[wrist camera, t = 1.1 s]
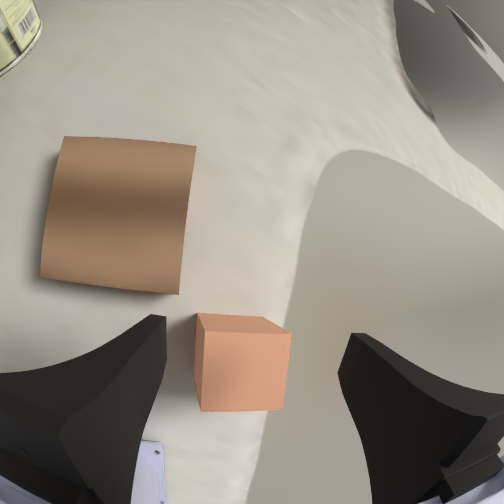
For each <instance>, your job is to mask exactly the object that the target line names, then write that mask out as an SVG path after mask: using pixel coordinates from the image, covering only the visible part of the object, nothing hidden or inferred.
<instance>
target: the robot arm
mask: <svg viewBox="0 0 504 504" xmlns="http://www.w3.org/2000/svg"><path fill="white" fill-rule="evenodd" d="M166 360H167V354H166V316H159V315H153V314H150V315H149V316H147V317H146V318H144V319H143V320H141V321H140V322H139V323H137V324H136V325H134V326H133V327H131V328H130V329H128V330H127V331H125V332H124V333H122V334H121V335H119V336H118V337H116V338H114V339H113V340H111V341H109V342H107V343H106V344H104V345H102V346H101V347H99V348H97V349H95V350H93V351H91V352H88V353H86V354H84V355H82V356H79V357H77V358H74V359H71V360H68V361H65V362H62V363H59V364H56V365H53V366H49V367H44V368H40V369H35V370H29V371H23V372H12V373H0V504H167V500H166V490H165V478H164V465H163V449H162V445H161V444H160V443H159V442H152V441H142V440H141V439H142V434H143V431H144V428H145V424H146V422H147V419H148V416H149V413H150V411H151V408H152V405H153V403H154V400H155V398H156V395H157V392H158V389H159V387H160V384H161V381H162V378H163V373H164V369H165V365H166ZM338 377H339V381H340V386H341V389H342V393H343V396H344V398H345V400H346V403H347V406H348V408H349V411H350V413H351V415H352V418H353V420H354V423H355V425H356V428H357V430H358V433H359V435H360V438H361V441H362V445H363V449H364V453H365V457H366V461H367V467H368V472H369V477H370V485H371V493H372V504H504V455H503V456H502V457H501V458H499V457H498V455H497V453H499V451H500V447H499V446H498V442H499V441H500V440H501V439H502V438H503V436H504V395H503V394H495V393H488V392H483V391H479V390H474V389H471V388H467V387H463V386H461V385H458V384H455V383H452V382H450V381H447V380H445V379H442V378H440V377H438V376H436V375H434V374H431V373H429V372H427V371H426V370H424V369H422V368H420V367H418V366H417V365H415V364H413V363H411V362H410V361H408V360H407V359H405V358H403V357H402V356H400V355H399V354H397V353H396V352H394V351H393V350H391V349H390V348H388V347H387V346H385V345H383V344H382V343H381V342H379V341H377V340H376V339H374V338H372V337H371V336H369V335H367V334H365V333H351V336H350V339H349V342H348V345H347V348H346V350H345V354H344V356H343V359H342V362H341V364H340V368H339V370H338ZM156 450H157V451H159V452H155V451H156ZM160 501H163V502H160Z"/></svg>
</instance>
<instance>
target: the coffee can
mask: <svg viewBox="0 0 504 504" xmlns="http://www.w3.org/2000/svg"><path fill="white" fill-rule="evenodd" d="M42 28H43V23H42V20H41V19H40V17H39V14H38V12H37V9H36V6H35V4H34V1H33V0H0V76H1V75H3V74H5V73H6V72H7V71H9V70H10V69H11V68H12V67H14V66H15V65H16V64H17V63H18V62H20V60H22V59H23V58H24V57H25V56H26V55H27V53H28V52H29V51H30V50H31V49H32V47H33V46H34V45H35V43H36V42H37V40H38V38H39V37H40V34H41V32H42Z"/></svg>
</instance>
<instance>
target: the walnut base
mask: <svg viewBox="0 0 504 504" xmlns="http://www.w3.org/2000/svg"><path fill="white" fill-rule="evenodd" d="M196 147H197V146H191V145H183V144H175V143H166V142H156V141H145V140H133V139H119V138H102V137H70V136H64V139H63V143H62V146H61V150H60V153H59V157H58V161H57V165H56V169H55V173H54V178H53V182H52V187H51V192H50V197H49V202H48V208H47V214H46V220H45V227H44V235H43V243H42V253H41V265H40V277H43V278H49V279H55V280H62V281H69V282H76V283H83V284H90V285H98V286H105V287H113V288H121V289H130V290H139V291H148V292H157V293H167V294H177V295H179V284H180V272H181V262H182V252H183V242H184V233H185V224H186V216H187V208H188V200H189V193H190V186H191V179H192V172H193V166H194V159H195V153H196Z"/></svg>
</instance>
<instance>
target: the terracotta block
mask: <svg viewBox="0 0 504 504" xmlns="http://www.w3.org/2000/svg"><path fill="white" fill-rule="evenodd" d="M291 337H292V334H291V333H289V332H287V331H286V330H284V329H283V328H281V327H279V326H277V325H276V324H274V323H272V322H270V321H269V320H267V319H265V318H264V317H256V316H236V315H219V314H205V313H197V322H196V337H195V355H194V381H195V386H196V391H197V396H198V400H199V405H200V410H201V411H210V412H233V411H262V410H277V409H282V407H283V400H284V393H285V385H286V378H287V369H288V362H289V354H290V345H291Z"/></svg>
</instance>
